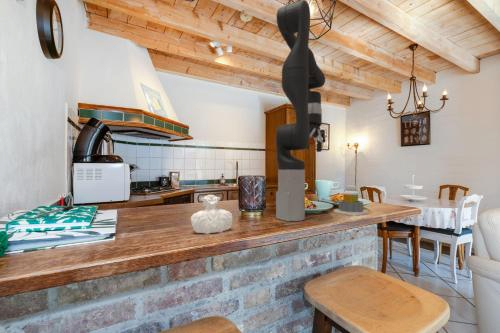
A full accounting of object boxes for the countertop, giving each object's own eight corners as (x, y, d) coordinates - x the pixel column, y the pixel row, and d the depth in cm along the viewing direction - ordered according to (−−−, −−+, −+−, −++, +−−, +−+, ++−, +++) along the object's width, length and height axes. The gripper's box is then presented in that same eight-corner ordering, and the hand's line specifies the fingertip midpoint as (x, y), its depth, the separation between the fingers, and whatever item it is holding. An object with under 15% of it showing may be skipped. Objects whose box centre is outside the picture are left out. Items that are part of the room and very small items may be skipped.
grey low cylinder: (355, 216, 88) (355, 203, 88) (333, 212, 95) (333, 201, 95) (368, 213, 93) (368, 201, 93) (346, 209, 101) (346, 199, 101)
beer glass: (352, 211, 91) (352, 186, 91) (340, 209, 95) (340, 185, 95) (360, 210, 94) (360, 185, 94) (348, 208, 98) (348, 185, 98)
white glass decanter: (231, 236, 70) (224, 202, 76) (238, 224, 64) (230, 189, 71) (190, 241, 65) (186, 205, 72) (193, 229, 60) (189, 191, 66)
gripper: (309, 109, 100) (309, 146, 98) (329, 116, 109) (330, 151, 107) (295, 113, 106) (295, 149, 104) (316, 120, 115) (316, 153, 113)
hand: (313, 150), depth 105 cm, fingers open, 8 cm apart
